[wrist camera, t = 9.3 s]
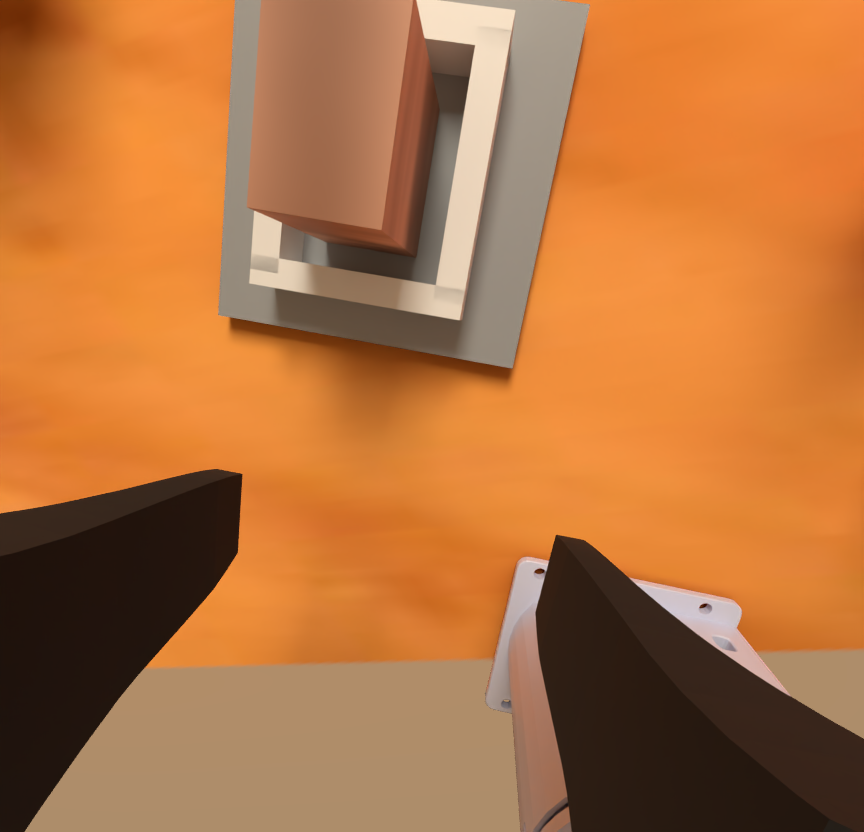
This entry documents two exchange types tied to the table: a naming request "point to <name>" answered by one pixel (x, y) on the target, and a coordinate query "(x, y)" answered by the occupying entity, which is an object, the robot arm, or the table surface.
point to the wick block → (343, 121)
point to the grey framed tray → (445, 199)
